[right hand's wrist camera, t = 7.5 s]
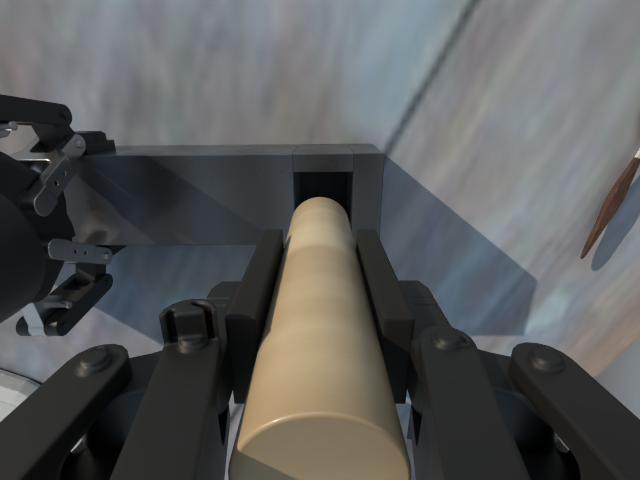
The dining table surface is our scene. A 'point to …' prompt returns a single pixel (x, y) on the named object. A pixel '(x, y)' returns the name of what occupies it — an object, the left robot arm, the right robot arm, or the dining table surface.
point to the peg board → (212, 191)
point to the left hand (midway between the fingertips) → (113, 189)
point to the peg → (319, 368)
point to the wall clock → (15, 393)
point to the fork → (612, 202)
